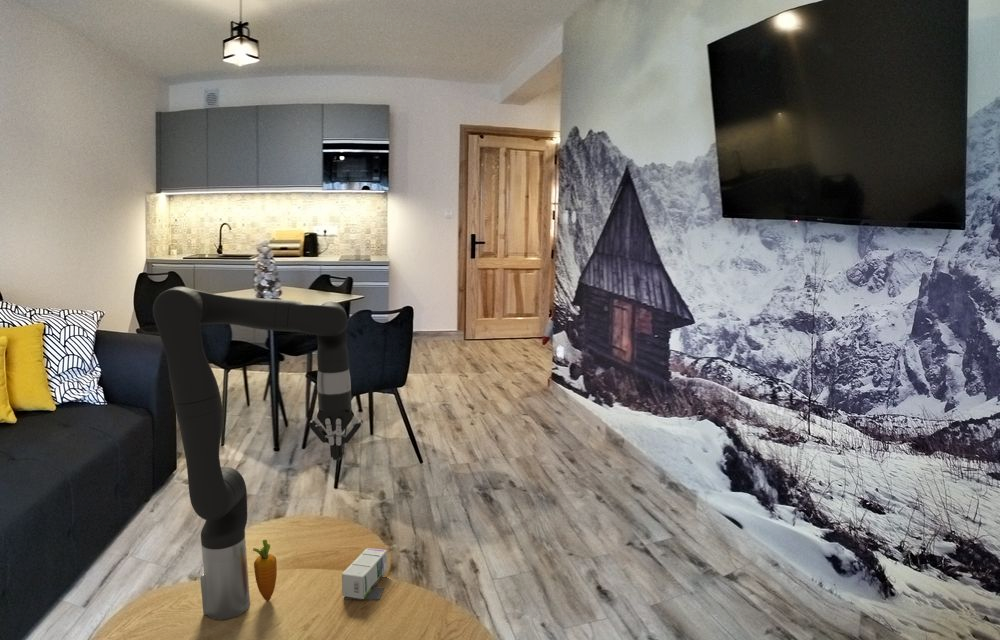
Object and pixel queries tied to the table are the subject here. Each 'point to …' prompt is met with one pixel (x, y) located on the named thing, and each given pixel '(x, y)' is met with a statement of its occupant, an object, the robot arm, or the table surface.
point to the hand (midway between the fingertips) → (337, 458)
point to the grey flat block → (371, 594)
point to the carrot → (265, 571)
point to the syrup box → (364, 573)
